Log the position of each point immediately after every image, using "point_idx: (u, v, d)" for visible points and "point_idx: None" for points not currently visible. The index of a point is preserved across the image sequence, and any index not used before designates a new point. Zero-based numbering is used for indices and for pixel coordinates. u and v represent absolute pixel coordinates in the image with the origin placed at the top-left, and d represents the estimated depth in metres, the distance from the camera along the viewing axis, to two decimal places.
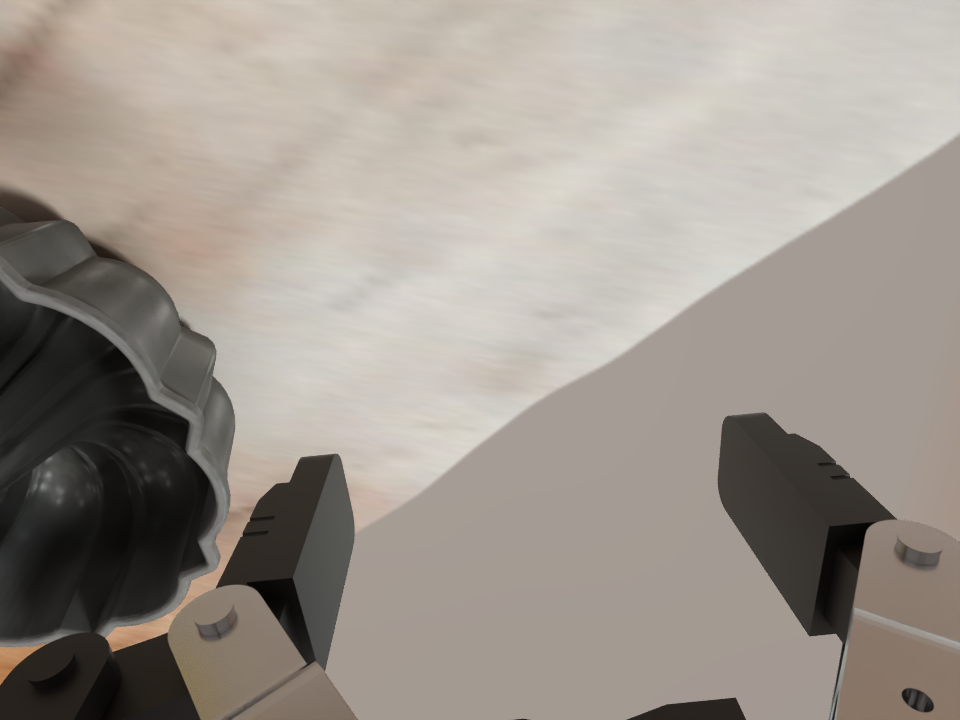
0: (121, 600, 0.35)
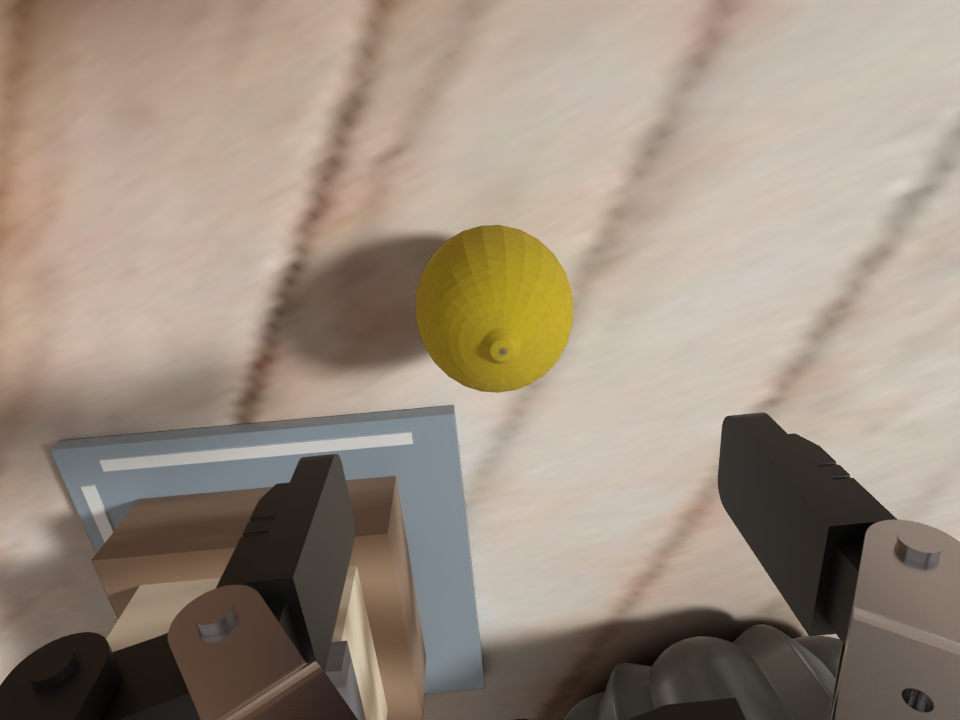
0: None
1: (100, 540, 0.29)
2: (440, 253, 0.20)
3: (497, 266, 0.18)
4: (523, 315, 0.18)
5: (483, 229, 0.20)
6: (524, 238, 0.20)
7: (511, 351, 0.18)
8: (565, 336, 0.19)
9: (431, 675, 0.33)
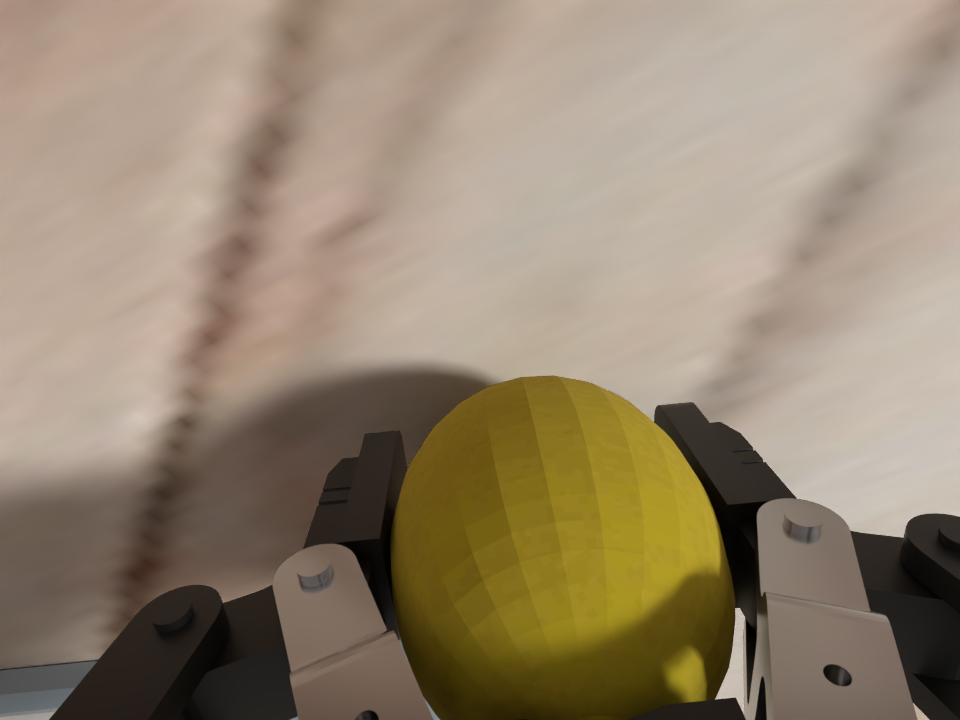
0: None
1: None
2: (441, 462, 0.09)
3: (582, 543, 0.07)
4: (652, 675, 0.07)
5: (533, 406, 0.09)
6: (625, 433, 0.09)
7: None
8: None
9: None
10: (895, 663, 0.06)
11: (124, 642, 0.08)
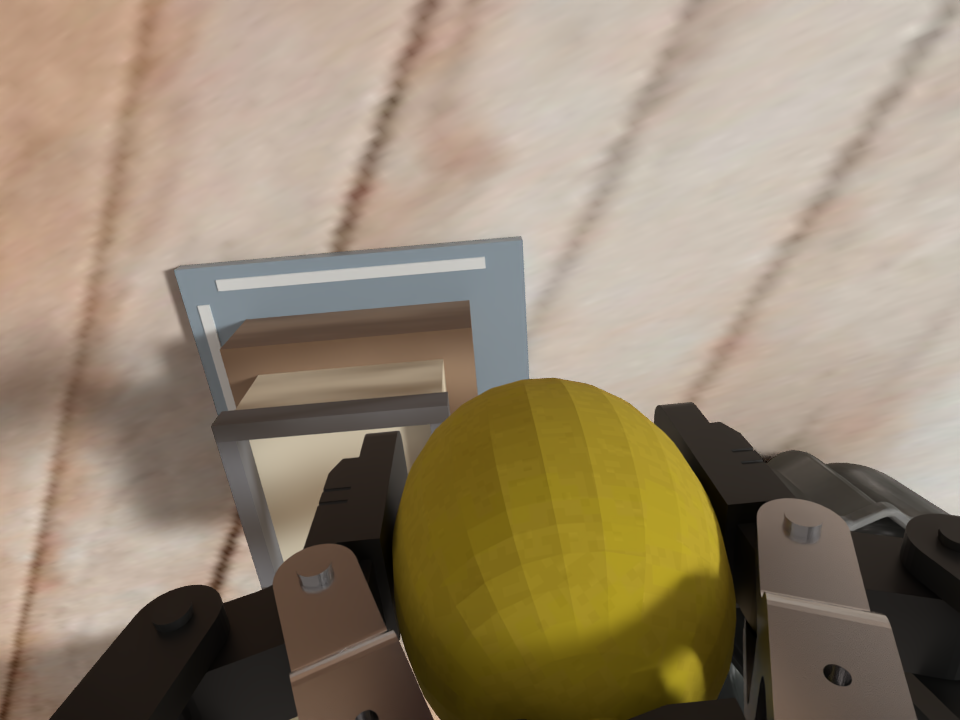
0: None
1: (209, 360, 0.33)
2: (443, 464, 0.09)
3: (582, 545, 0.07)
4: (653, 678, 0.07)
5: (534, 408, 0.09)
6: (627, 435, 0.09)
7: None
8: None
9: None
10: (895, 663, 0.06)
11: (124, 642, 0.08)
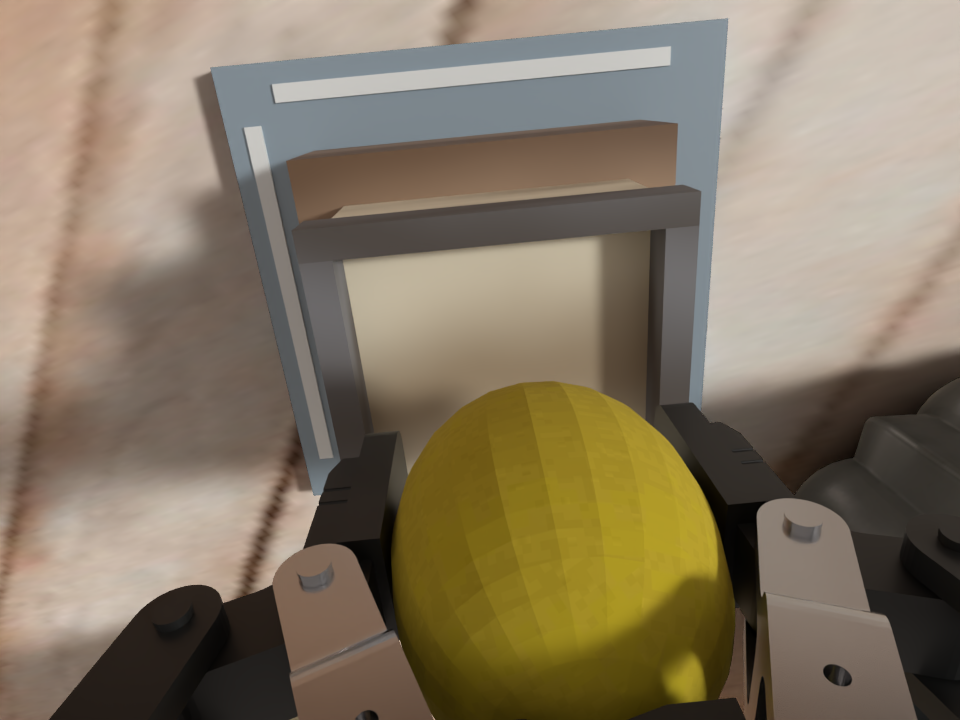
0: None
1: (259, 217, 0.23)
2: (441, 468, 0.09)
3: (581, 550, 0.07)
4: (652, 683, 0.07)
5: (533, 412, 0.09)
6: (626, 439, 0.09)
7: None
8: None
9: None
10: (895, 663, 0.06)
11: (124, 642, 0.08)
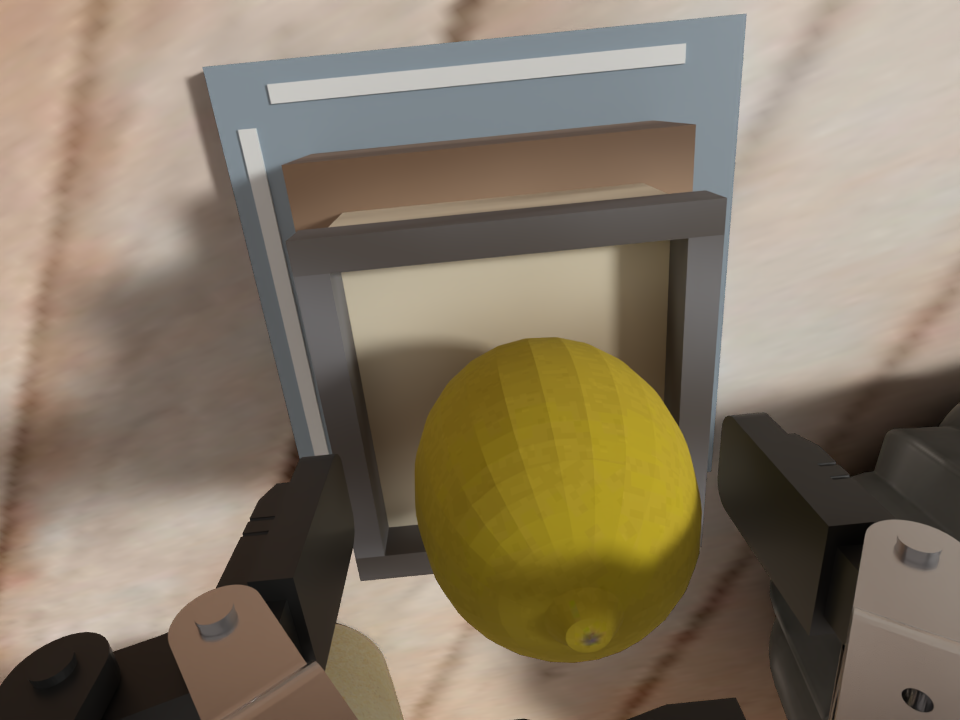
0: None
1: (254, 223, 0.22)
2: (459, 401, 0.11)
3: (575, 455, 0.09)
4: (629, 557, 0.09)
5: (536, 356, 0.11)
6: (613, 377, 0.11)
7: (607, 637, 0.09)
8: (694, 565, 0.10)
9: None
10: None
11: None
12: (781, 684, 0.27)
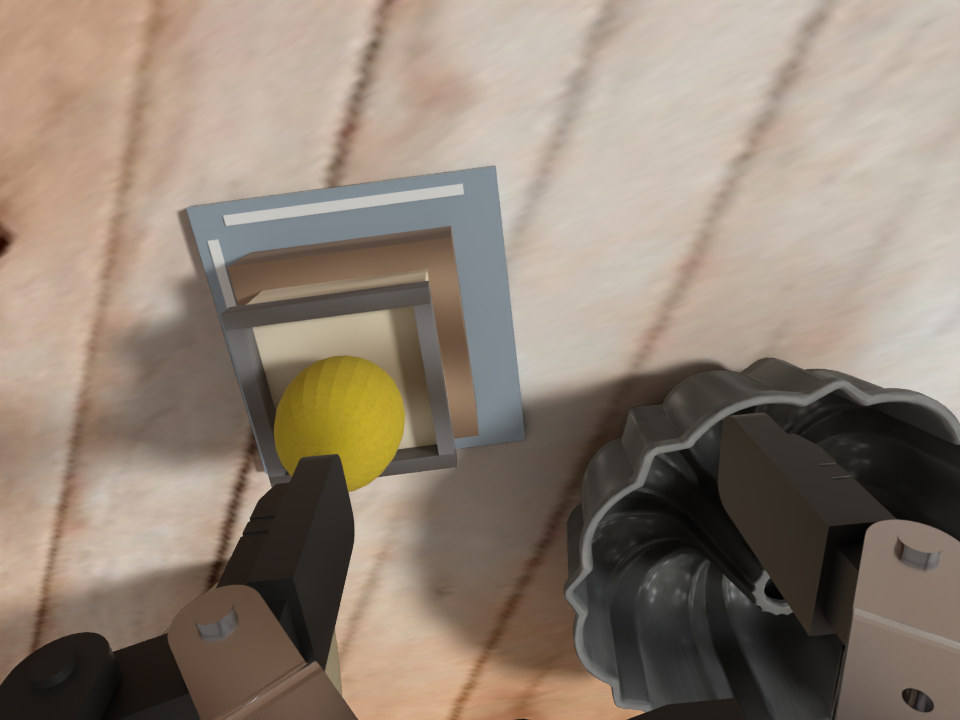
0: None
1: (219, 293, 0.36)
2: (291, 384, 0.25)
3: (323, 401, 0.23)
4: (340, 439, 0.23)
5: (325, 364, 0.26)
6: (355, 371, 0.25)
7: None
8: (385, 449, 0.24)
9: (481, 426, 0.40)
10: None
11: None
12: None
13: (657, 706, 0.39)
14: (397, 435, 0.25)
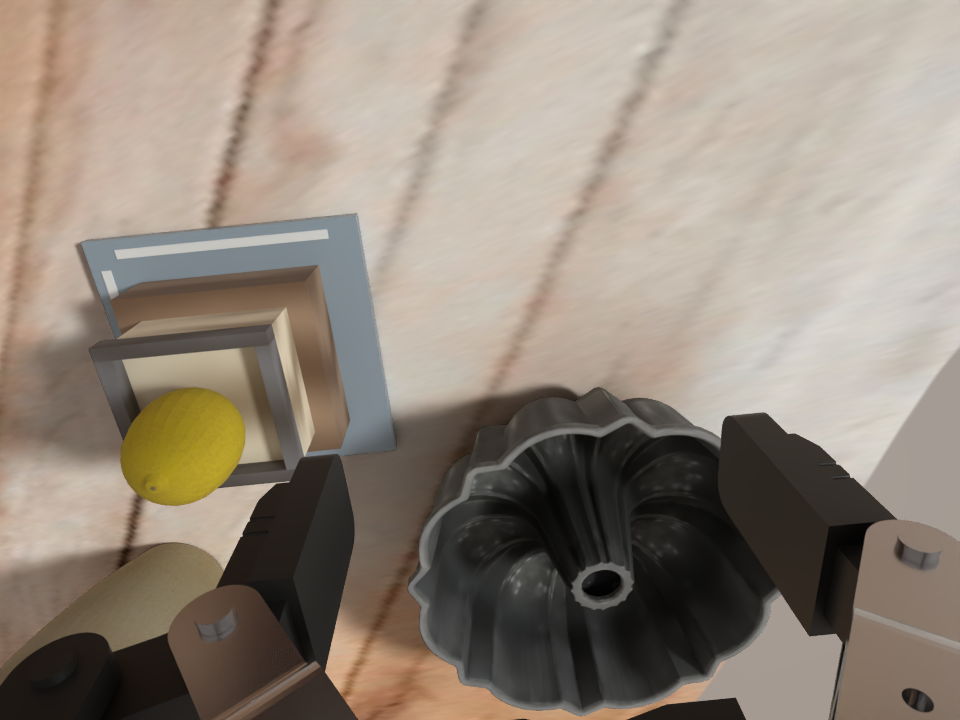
0: (711, 641, 0.45)
1: (114, 316, 0.41)
2: (139, 414, 0.30)
3: (155, 432, 0.28)
4: (168, 464, 0.28)
5: (169, 397, 0.30)
6: (191, 405, 0.30)
7: (158, 488, 0.28)
8: (213, 471, 0.30)
9: (355, 437, 0.46)
10: None
11: None
12: None
13: (500, 684, 0.45)
14: (227, 458, 0.30)
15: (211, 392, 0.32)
